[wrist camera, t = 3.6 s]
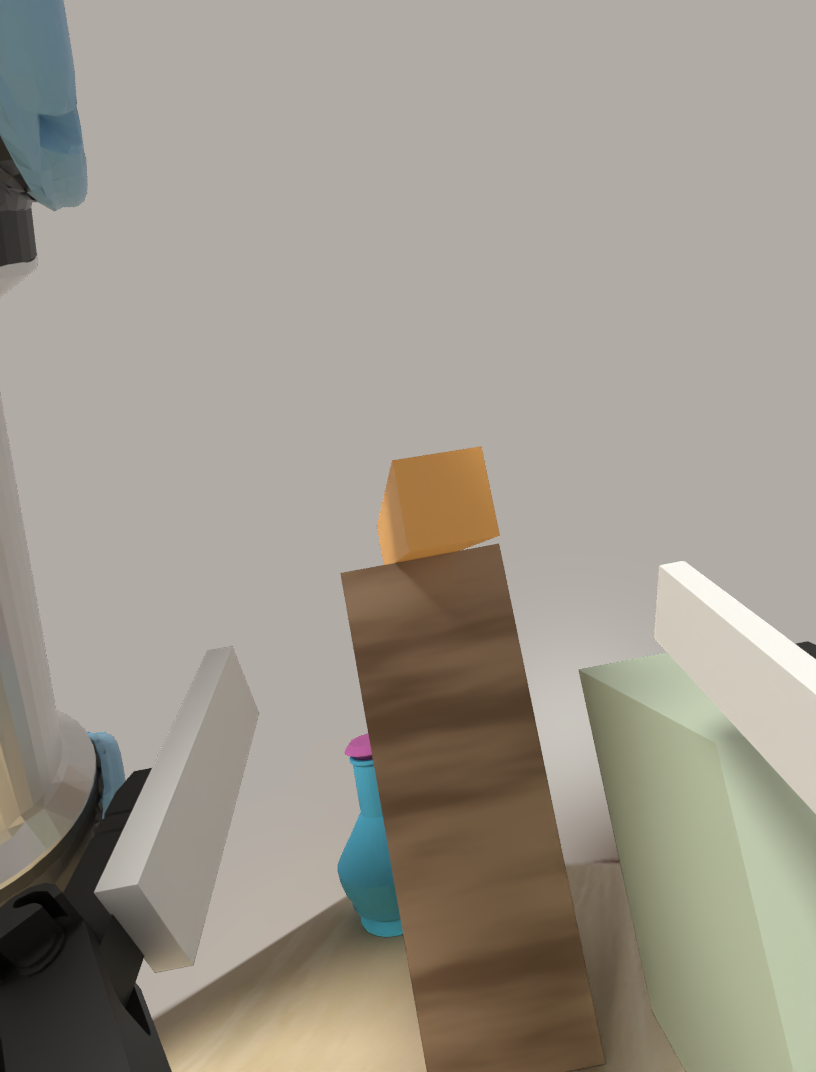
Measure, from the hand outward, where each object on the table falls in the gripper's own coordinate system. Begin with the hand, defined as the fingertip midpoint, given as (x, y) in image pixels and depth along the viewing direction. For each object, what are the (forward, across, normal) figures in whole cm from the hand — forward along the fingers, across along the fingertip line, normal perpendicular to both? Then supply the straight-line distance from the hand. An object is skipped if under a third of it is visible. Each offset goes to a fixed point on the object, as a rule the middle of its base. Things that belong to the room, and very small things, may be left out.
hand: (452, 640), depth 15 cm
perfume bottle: (+13, -8, -39) cm, 42 cm away
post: (+4, 0, -33) cm, 33 cm away
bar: (+16, 0, -5) cm, 17 cm away
